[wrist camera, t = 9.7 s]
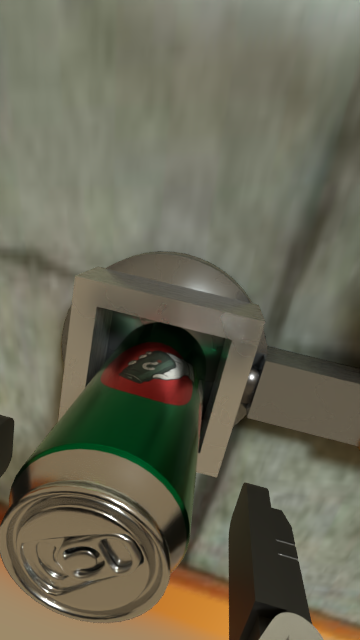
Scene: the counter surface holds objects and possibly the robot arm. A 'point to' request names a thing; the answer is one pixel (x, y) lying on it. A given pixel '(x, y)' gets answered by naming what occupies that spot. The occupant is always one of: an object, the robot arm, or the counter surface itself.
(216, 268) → the ratchet
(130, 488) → the soda can
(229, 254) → the counter surface
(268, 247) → the counter surface
